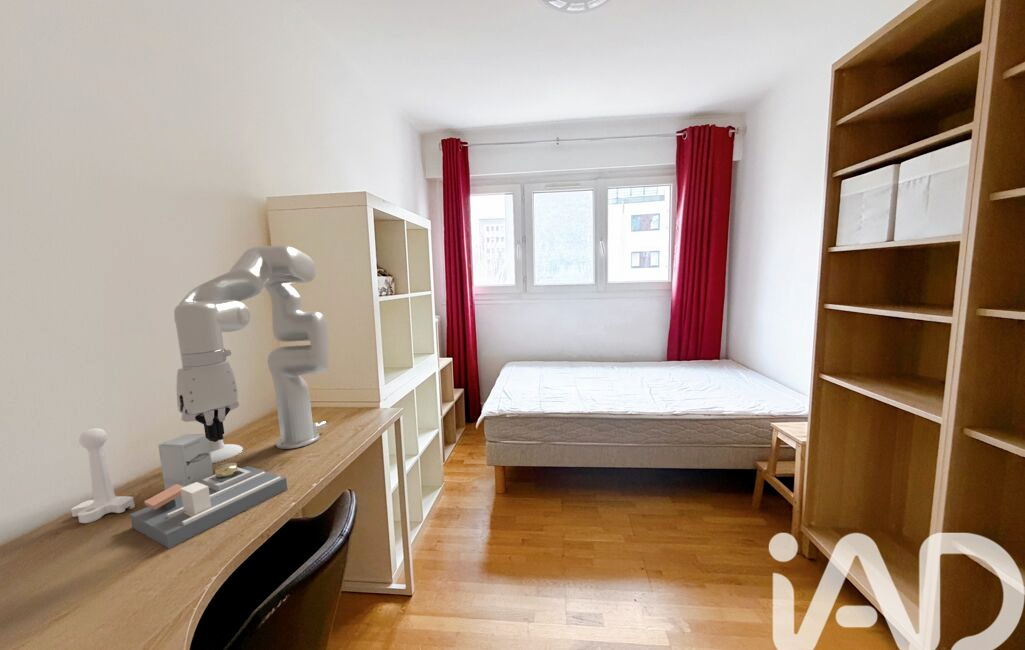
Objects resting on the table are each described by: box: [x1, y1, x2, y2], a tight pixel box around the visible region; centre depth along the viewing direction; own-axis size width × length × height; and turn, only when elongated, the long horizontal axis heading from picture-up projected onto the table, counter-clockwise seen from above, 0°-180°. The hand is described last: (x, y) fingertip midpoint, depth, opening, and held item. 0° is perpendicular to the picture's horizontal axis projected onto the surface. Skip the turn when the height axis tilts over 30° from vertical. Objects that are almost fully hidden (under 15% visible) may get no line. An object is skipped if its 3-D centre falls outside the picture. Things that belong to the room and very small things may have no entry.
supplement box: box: [158, 433, 214, 490], centre depth 103 cm, size 7×7×13 cm
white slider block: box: [180, 482, 212, 516], centre depth 85 cm, size 3×5×5 cm, turn 62°
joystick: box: [70, 427, 136, 524], centre depth 90 cm, size 11×8×20 cm
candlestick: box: [208, 410, 244, 465], centre depth 120 cm, size 13×13×30 cm
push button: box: [214, 462, 238, 479], centre depth 97 cm, size 4×4×2 cm
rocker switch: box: [144, 484, 183, 510], centre depth 87 cm, size 6×4×1 cm
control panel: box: [129, 465, 288, 549], centre depth 92 cm, size 24×17×4 cm
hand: (215, 439), depth 88 cm, fingers closed
